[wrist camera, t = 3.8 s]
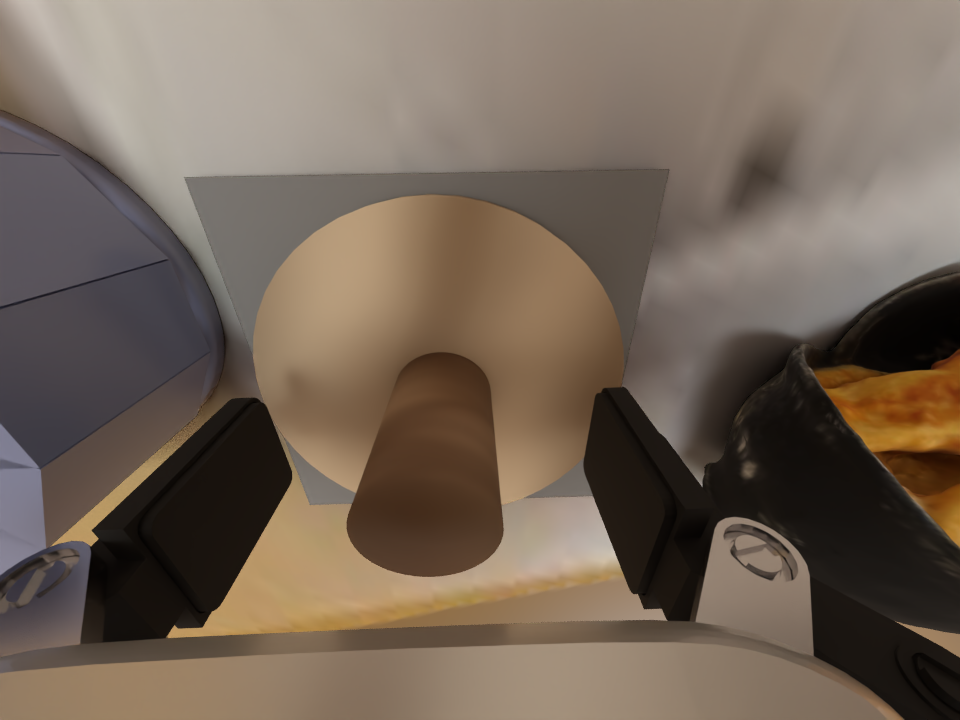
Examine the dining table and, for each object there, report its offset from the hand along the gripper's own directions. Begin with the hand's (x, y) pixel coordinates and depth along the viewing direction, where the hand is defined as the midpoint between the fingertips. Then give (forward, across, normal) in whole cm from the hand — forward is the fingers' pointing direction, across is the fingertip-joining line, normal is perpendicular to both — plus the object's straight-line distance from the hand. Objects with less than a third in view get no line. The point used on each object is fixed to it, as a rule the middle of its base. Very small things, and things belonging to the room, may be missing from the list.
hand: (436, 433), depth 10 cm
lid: (+3, 0, 0) cm, 3 cm away
